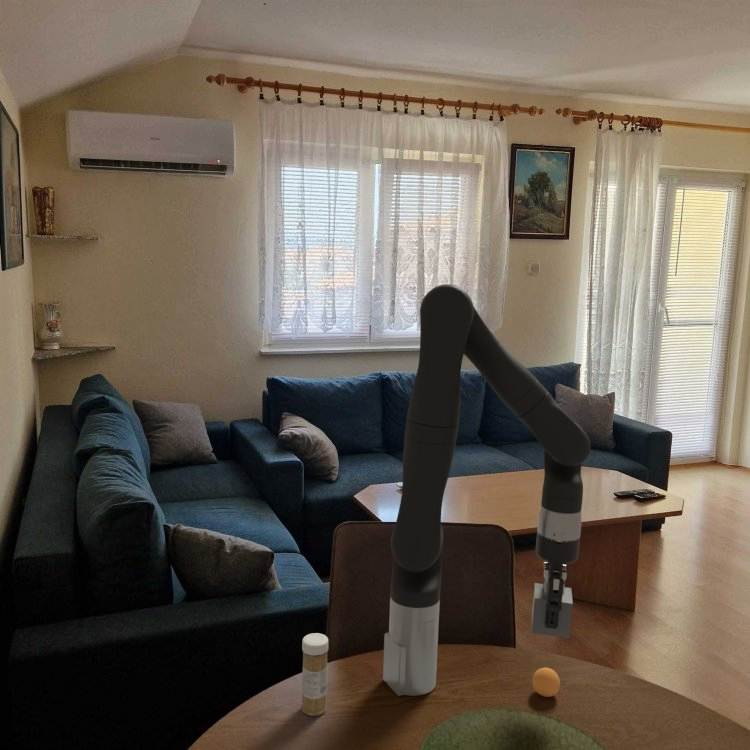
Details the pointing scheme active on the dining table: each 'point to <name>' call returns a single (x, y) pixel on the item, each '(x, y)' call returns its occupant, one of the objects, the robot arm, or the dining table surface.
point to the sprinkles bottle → (314, 674)
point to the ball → (546, 682)
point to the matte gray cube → (540, 613)
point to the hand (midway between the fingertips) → (550, 617)
